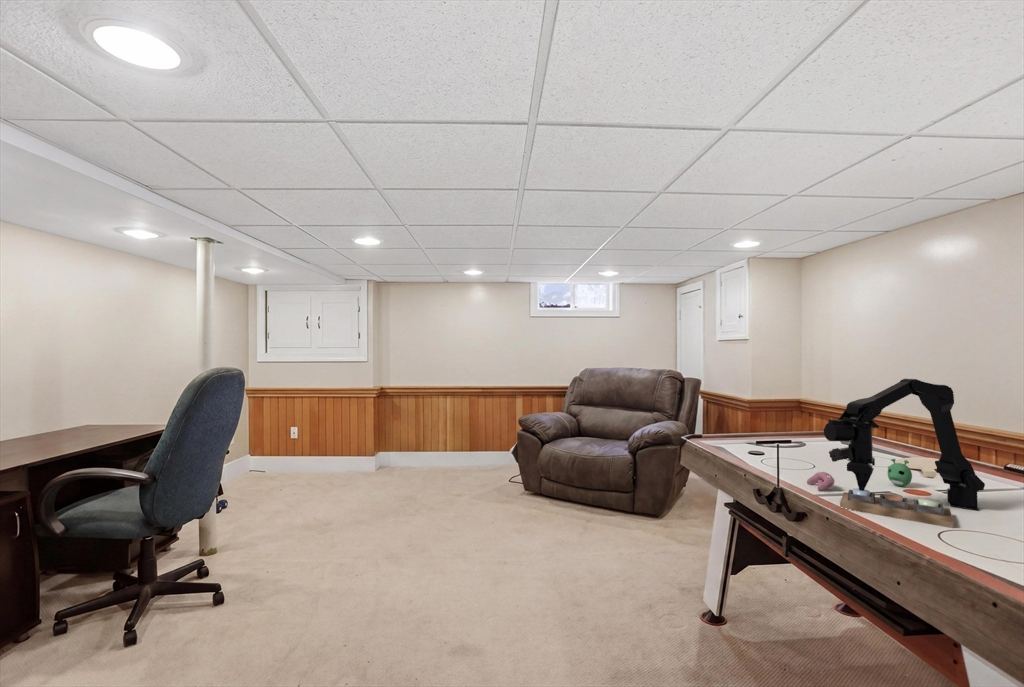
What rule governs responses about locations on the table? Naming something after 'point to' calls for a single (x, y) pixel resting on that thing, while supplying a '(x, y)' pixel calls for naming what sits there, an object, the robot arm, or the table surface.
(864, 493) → the slate button
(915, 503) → the button panel
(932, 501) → the sage button
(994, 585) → the table surface
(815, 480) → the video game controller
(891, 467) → the alien toy
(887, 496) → the terracotta button
